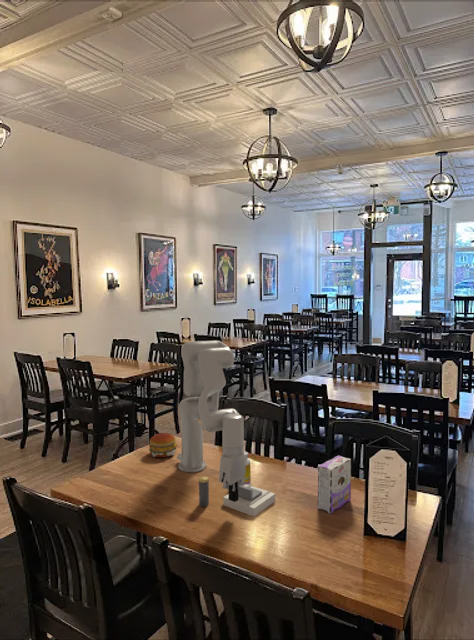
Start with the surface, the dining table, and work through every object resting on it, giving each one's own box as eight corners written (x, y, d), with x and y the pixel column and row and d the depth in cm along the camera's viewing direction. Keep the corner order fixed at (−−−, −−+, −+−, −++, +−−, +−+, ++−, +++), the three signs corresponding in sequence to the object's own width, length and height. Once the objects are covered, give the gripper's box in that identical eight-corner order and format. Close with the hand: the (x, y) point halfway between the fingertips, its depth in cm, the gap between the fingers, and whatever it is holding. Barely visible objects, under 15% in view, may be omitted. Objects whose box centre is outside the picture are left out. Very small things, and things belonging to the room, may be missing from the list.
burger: (163, 447, 224) (162, 427, 224) (183, 452, 216) (182, 432, 216) (143, 455, 213) (142, 435, 213) (163, 461, 205) (163, 440, 205)
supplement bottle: (251, 480, 185) (251, 450, 184) (250, 487, 179) (250, 456, 178) (235, 479, 186) (235, 449, 185) (233, 486, 180) (233, 455, 179)
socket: (223, 505, 164) (223, 496, 164) (245, 491, 176) (245, 483, 175) (254, 516, 156) (254, 507, 156) (275, 501, 167) (275, 492, 167)
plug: (196, 505, 164) (196, 479, 164) (203, 501, 167) (203, 475, 167) (204, 508, 162) (204, 481, 161) (210, 504, 165) (210, 478, 164)
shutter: (236, 495, 165) (236, 485, 164) (247, 488, 170) (247, 479, 170) (251, 500, 161) (251, 490, 160) (262, 493, 166) (262, 483, 166)
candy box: (337, 495, 171) (338, 454, 170) (351, 501, 167) (351, 458, 166) (316, 508, 162) (317, 464, 161) (330, 514, 158) (331, 469, 156)
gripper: (237, 441, 164) (237, 489, 165) (211, 453, 152) (211, 505, 153) (253, 445, 160) (254, 495, 161) (228, 458, 148) (228, 511, 149)
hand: (233, 499), depth 157 cm, fingers closed
